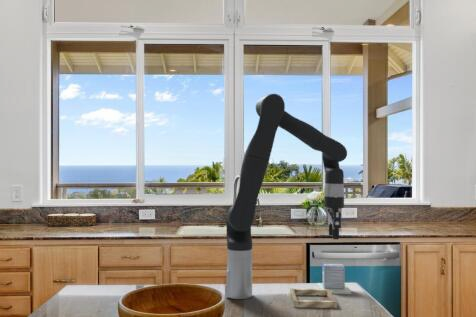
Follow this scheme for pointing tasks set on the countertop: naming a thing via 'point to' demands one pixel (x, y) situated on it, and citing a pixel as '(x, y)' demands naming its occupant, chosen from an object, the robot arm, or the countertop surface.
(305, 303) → the pocket tray
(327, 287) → the medicine box
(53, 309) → the countertop surface
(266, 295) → the countertop surface
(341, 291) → the sage mat
